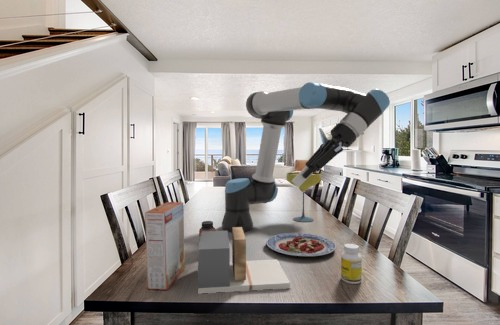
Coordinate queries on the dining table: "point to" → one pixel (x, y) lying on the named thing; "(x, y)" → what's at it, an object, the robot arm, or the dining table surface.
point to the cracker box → (164, 244)
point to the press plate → (239, 253)
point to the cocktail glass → (304, 190)
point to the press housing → (221, 269)
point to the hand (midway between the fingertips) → (294, 184)
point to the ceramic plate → (301, 244)
